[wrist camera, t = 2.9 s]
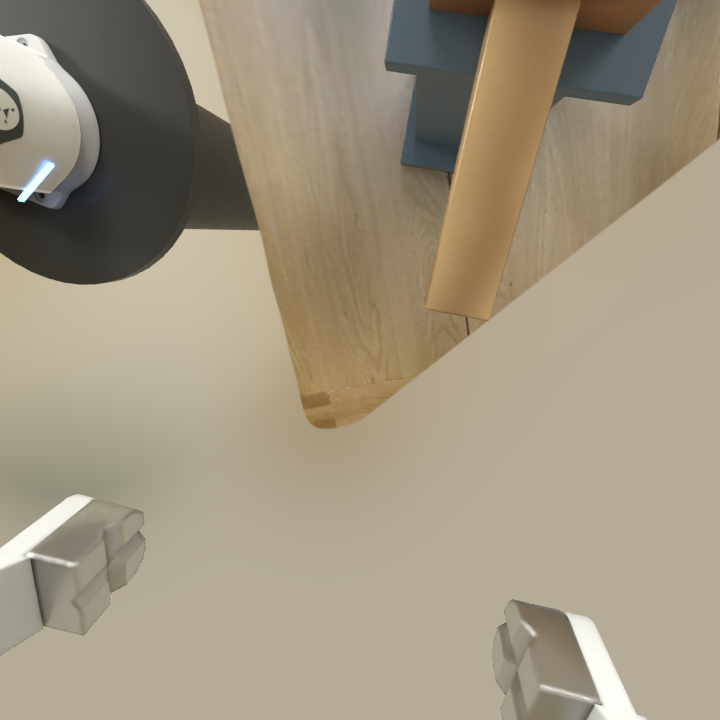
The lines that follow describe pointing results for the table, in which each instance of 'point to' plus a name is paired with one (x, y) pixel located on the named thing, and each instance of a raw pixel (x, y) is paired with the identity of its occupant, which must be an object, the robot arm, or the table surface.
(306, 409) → the table surface
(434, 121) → the pedestal stand
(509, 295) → the table surface
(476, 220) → the mallet
